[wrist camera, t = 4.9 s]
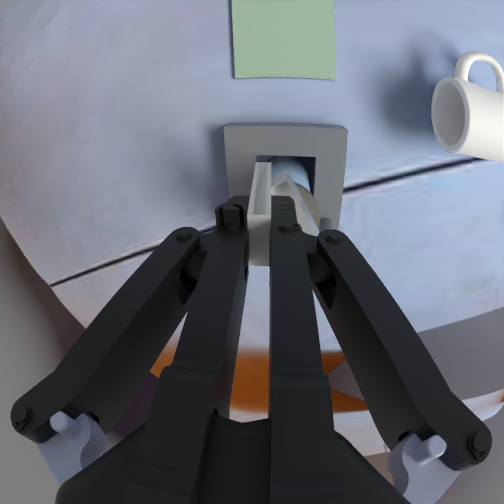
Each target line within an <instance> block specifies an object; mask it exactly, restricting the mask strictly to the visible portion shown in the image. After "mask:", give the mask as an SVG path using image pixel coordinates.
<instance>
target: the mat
mask: <svg viewBox="0 0 504 504" xmlns="http://www.w3.org/2000/svg"><path fill="white" fill-rule="evenodd" d="M232 22H233V44H234V65H235V78H254V77H297V78H317V79H330V80H335V33H334V14H333V0H232Z"/></svg>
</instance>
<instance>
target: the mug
mask: <svg viewBox="0 0 504 504" xmlns="http://www.w3.org/2000/svg"><path fill="white" fill-rule="evenodd" d="M476 60H480V61H483V62H486V63H487V64H489V65H490V66H491V68H492V69H493V71H494V74H495V78H496V85H497V91H494V90H491V89H488V88H485V87H483V86H480V85H477V84H474V83H471V82H469V81H468V72H469V68H470V66H471V64H472V63H473V62H474V61H476ZM431 118H432V125H433V130H434V133H435V136H436V139H437V141H438V143H439V144H440V146H441V147H442V148H443V149H444V150H445V151H447V152H449V153H454V154H460V155H466V156H472V157H477V158H482V159H487V160H492V161H496V162H501V163H504V73H503V70H502V69H501V67H500V65H499V64H498V63H497V62H496V60H494V59H493V58H492V57H491V56H489V55H487V54H485V53H482V52H467V53H465V54H463V55H462V56H461V57H460V58H459V59H458V61H457V63H456V66H455V72H454V77H450V76H447V77H444V78H442V79H441V80H440V81H439V82H438V83H437V85H436V87H435V89H434V92H433V96H432V103H431Z"/></svg>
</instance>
